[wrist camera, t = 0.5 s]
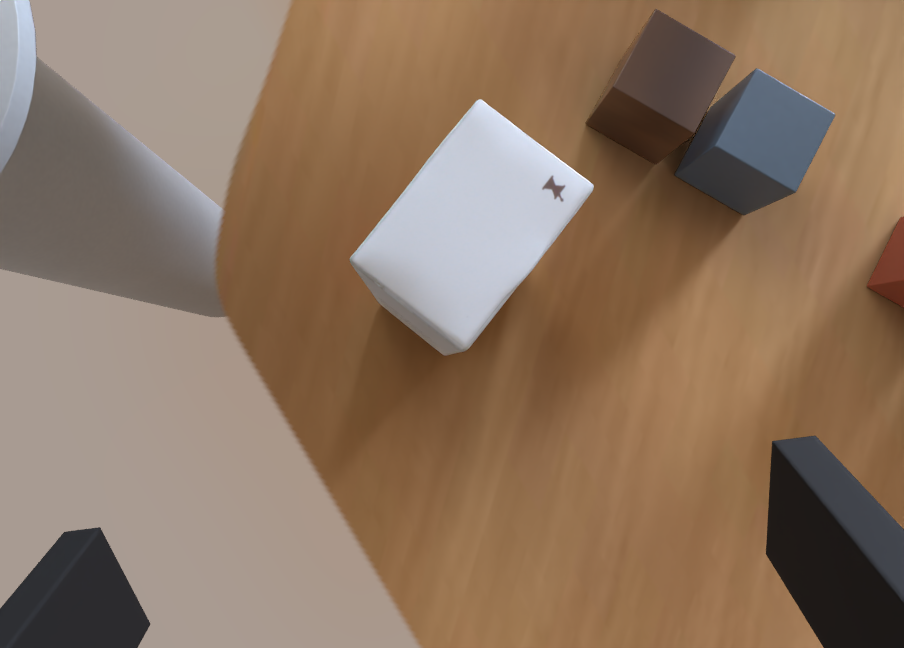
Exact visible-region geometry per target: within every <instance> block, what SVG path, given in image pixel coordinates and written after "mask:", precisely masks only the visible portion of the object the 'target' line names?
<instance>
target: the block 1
mask: <svg viewBox="0 0 904 648" xmlns="http://www.w3.org/2000/svg"><path fill="white" fill-rule="evenodd" d="M735 57H736V56H735V55H734V54H732V53H731V52H729V51H727V50H725V49H724V48H722V47H720V46H719V45H717V44H715V43H713V42H712V41H710V40H708V39H707V38H705V37H703V36H702V35H700V34H698V33H696V32H695V31H693V30H691V29H690V28H688V27H686V26H684V25H683V24H681V23H679V22H678V21H676V20H674V19H673V18H671V17H669V16H667V15H666V14H664V13H662V12H661V11H659V10H657V9H655V10H654V12H653V13H652V15H651V16H650V18H649V19H648V21H647V22H646V23H645V25H644V26H643V28H642V29H641V31H640V32H639V34H638V35H637V36H636V38H635V39H634V41H633V42H632V44H631V45H630V47H629V48H628V50H627V51H626V52H625V54H624V55H623V57H622V59H621V60H620V62H619V64H618V66H617V68H616V69H615V71H614V73H613V75H612V77H611V78H610V80H609V82H608V84H607V86H606V87H605V89H604V91H603V93H602V95H601V96H600V98H599V100H598V102H597V104H596V105H595V107H594V109H593V111H592V113H591V114H590V116H589V118H588V120H587V122H586V125H588V126H590V127H591V128H593V129H595V130H597V131H598V132H600V133H602V134H604V135H605V136H607V137H609V138H610V139H612V140H614V141H616V142H617V143H619V144H621V145H623V146H624V147H626V148H628V149H630V150H631V151H633V152H635V153H636V154H638V155H640V156H642V157H643V158H645V159H647V160H649V161H650V162H652V163H654V164H657V163H659V162H660V161H661V160H662V159H664V158H665V157H666V156H667V155H669V154H670V153H671V152H672V151H673V150H675V149H676V148H677V147H678V146H680V145H681V144H682V143H683V142H685V141H686V140H687V139H688V138H689V137H691V136H692V135H693V134H694V133H695V132H696V130H697V128H698V126H699V124H700V122H701V120H702V118H703V117H704V115H705V113H706V111H707V109H708V107H709V105H710V104H711V102H712V100H713V98H714V96H715V94H716V92H717V90H718V89H719V87H720V85H721V83H722V81H723V79H724V77H725V76H726V74H727V72H728V70H729V68H730V66H731V64H732V63H733V61H734V59H735Z"/></svg>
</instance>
